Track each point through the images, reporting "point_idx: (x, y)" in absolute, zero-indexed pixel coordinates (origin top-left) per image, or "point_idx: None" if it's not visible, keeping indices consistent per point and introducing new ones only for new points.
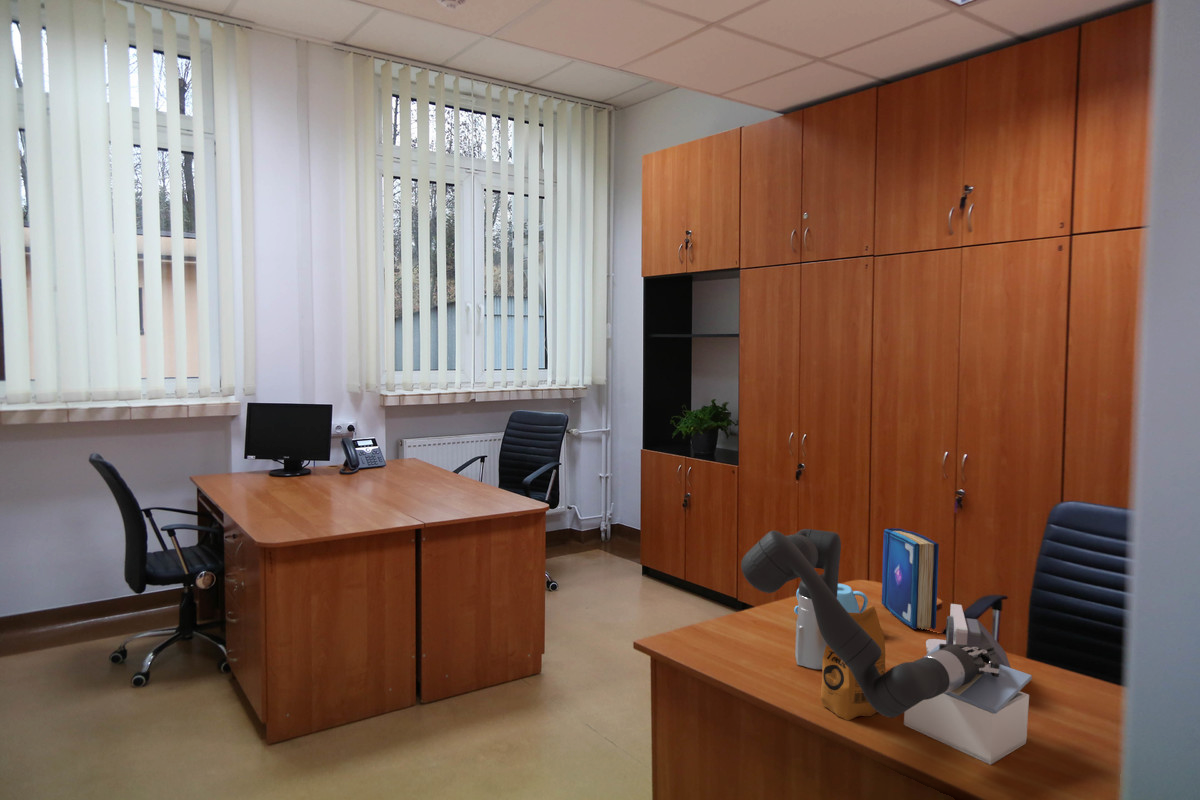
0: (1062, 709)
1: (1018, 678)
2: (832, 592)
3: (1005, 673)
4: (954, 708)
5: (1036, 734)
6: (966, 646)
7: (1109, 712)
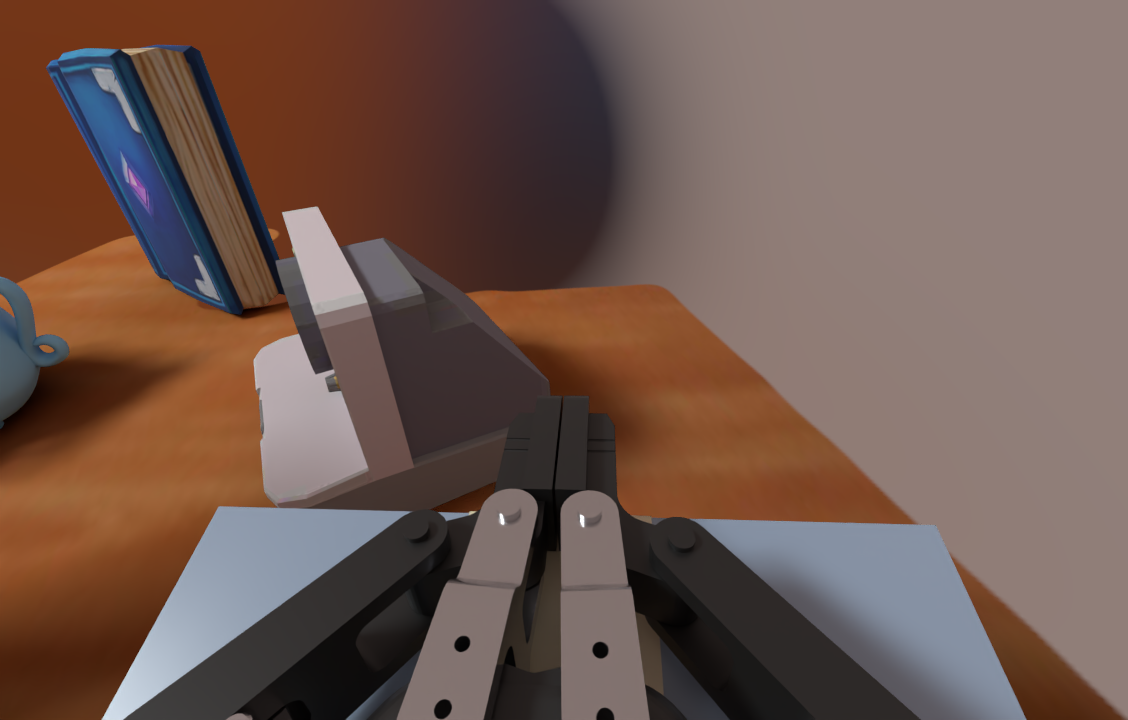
0: (670, 408)
1: (919, 627)
2: None
3: None
4: None
5: None
6: (427, 545)
7: (733, 357)
